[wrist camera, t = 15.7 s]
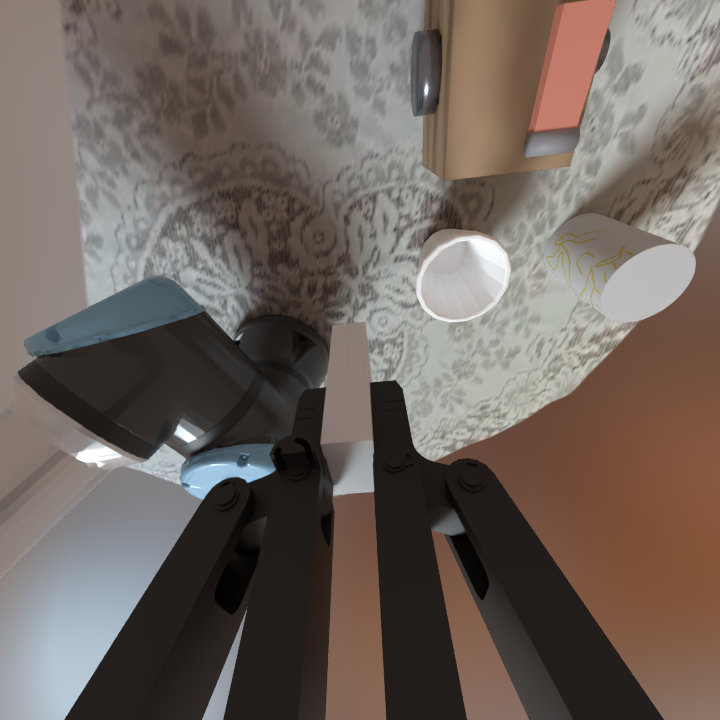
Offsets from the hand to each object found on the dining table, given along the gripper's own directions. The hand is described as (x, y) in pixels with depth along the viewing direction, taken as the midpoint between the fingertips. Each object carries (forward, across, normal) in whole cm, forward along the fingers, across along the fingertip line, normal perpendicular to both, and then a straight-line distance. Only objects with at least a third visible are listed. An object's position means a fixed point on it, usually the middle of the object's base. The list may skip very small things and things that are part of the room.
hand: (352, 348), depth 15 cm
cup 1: (+28, +11, -6) cm, 31 cm away
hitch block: (+28, +13, +11) cm, 33 cm away
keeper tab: (+16, +16, +9) cm, 24 cm away
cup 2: (+28, +28, -7) cm, 41 cm away
